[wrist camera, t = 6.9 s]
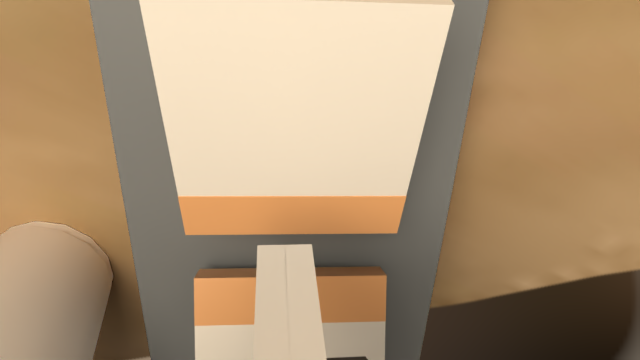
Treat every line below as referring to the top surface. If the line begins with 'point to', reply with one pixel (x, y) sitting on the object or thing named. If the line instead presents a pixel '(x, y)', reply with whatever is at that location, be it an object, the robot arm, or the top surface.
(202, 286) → the block
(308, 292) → the robot arm
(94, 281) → the foam cup
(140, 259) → the switch unit
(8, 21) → the top surface
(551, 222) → the top surface
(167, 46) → the panel
